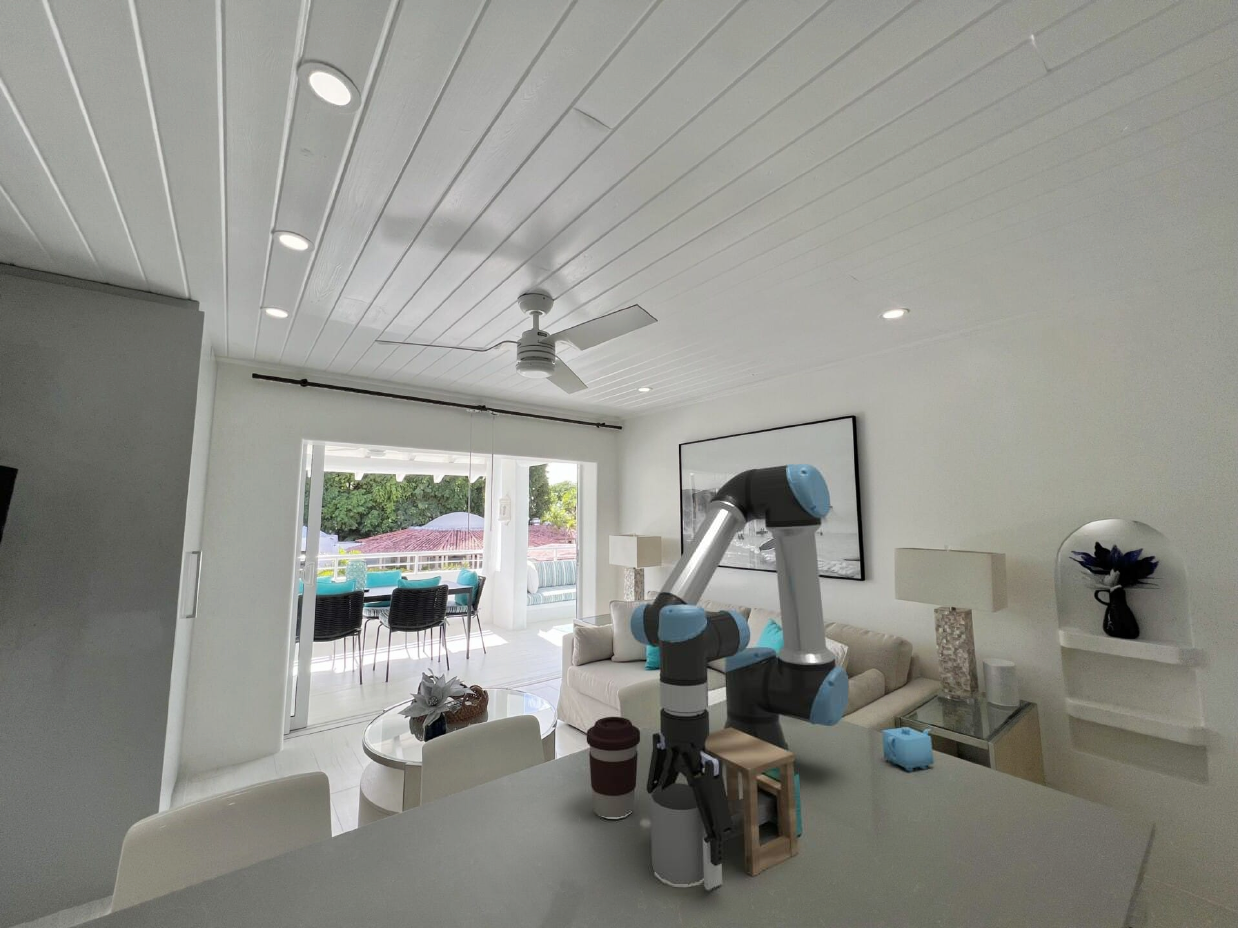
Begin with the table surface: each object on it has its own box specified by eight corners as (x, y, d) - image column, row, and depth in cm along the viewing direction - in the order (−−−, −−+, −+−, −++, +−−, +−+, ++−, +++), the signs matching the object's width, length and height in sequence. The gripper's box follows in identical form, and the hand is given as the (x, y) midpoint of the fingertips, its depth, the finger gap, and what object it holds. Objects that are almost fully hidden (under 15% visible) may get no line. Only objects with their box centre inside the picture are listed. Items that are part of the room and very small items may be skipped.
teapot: (922, 755, 115) (918, 719, 116) (946, 766, 109) (942, 729, 110) (878, 762, 111) (876, 725, 112) (901, 774, 105) (898, 735, 107)
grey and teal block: (764, 811, 91) (761, 757, 92) (802, 832, 84) (798, 774, 85) (687, 844, 81) (685, 783, 82) (722, 871, 74) (720, 805, 76)
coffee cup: (649, 803, 94) (647, 717, 97) (627, 830, 86) (626, 735, 88) (601, 792, 99) (601, 710, 101) (576, 817, 90) (576, 727, 92)
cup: (703, 893, 70) (701, 814, 72) (646, 881, 73) (645, 805, 74) (712, 857, 78) (710, 787, 80) (660, 847, 81) (659, 779, 82)
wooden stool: (689, 832, 85) (687, 739, 87) (745, 809, 92) (741, 724, 94) (753, 877, 73) (748, 769, 76) (811, 847, 80) (805, 749, 83)
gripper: (756, 724, 72) (764, 900, 68) (659, 687, 91) (661, 823, 87) (717, 736, 68) (724, 923, 64) (624, 694, 87) (625, 837, 83)
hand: (688, 865), depth 76 cm, fingers open, 10 cm apart
